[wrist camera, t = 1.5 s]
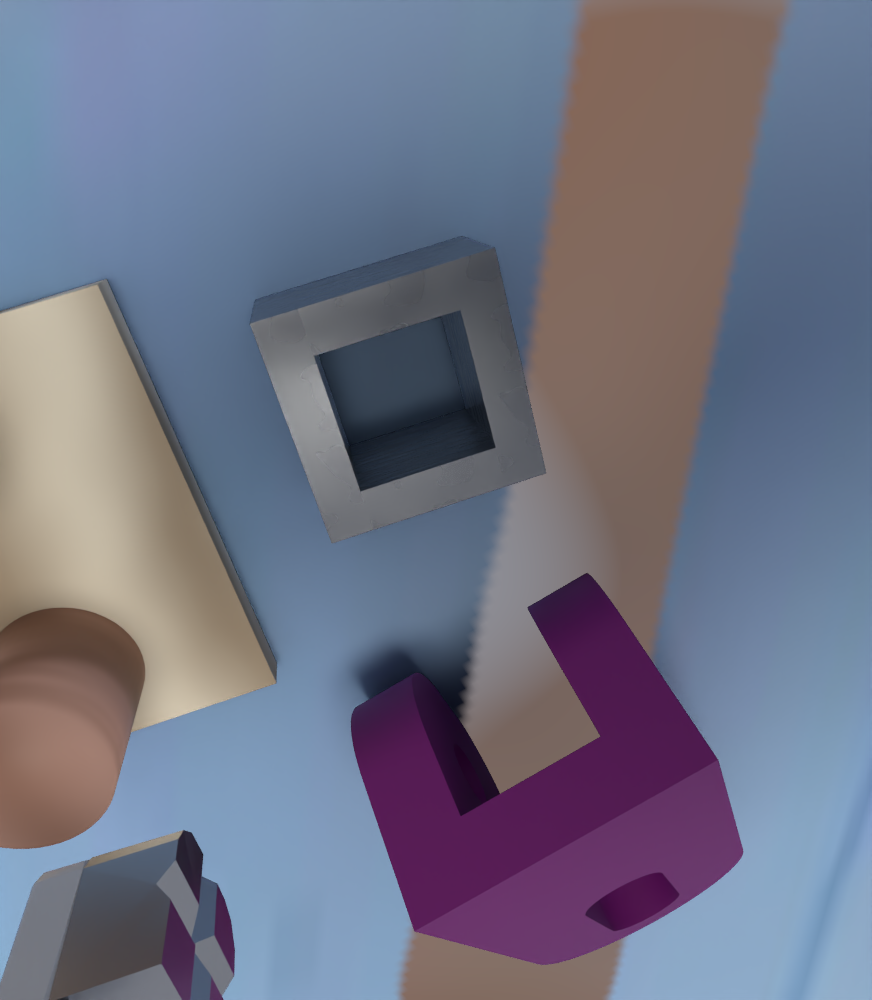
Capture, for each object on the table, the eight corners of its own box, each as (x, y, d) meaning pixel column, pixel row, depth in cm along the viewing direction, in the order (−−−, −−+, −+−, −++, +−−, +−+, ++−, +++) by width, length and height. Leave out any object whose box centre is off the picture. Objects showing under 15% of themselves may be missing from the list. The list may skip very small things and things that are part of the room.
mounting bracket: (645, 708, 40) (568, 534, 26) (748, 869, 35) (719, 758, 21) (486, 798, 40) (326, 674, 26) (563, 971, 35) (413, 931, 21)
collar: (462, 236, 23) (494, 247, 20) (509, 431, 26) (546, 473, 23) (254, 299, 23) (250, 324, 20) (325, 491, 26) (331, 543, 22)
